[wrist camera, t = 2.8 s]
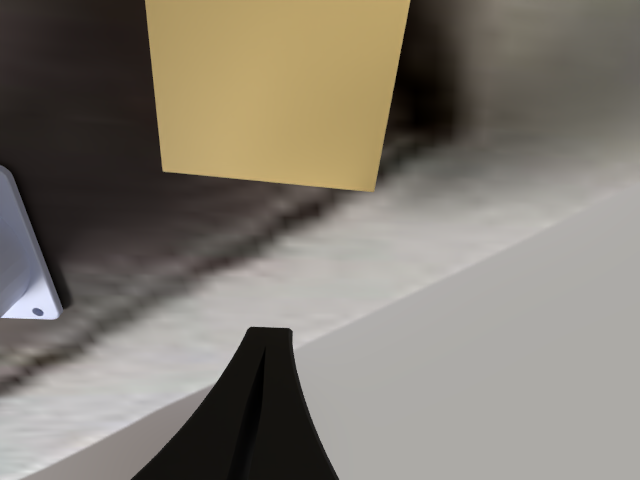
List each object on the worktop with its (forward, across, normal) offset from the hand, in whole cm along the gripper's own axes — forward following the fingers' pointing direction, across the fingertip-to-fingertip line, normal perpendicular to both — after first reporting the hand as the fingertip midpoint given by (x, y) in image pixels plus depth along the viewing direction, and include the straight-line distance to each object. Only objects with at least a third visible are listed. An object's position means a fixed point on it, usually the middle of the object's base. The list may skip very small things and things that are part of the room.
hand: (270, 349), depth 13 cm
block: (+7, 0, -8) cm, 10 cm away
